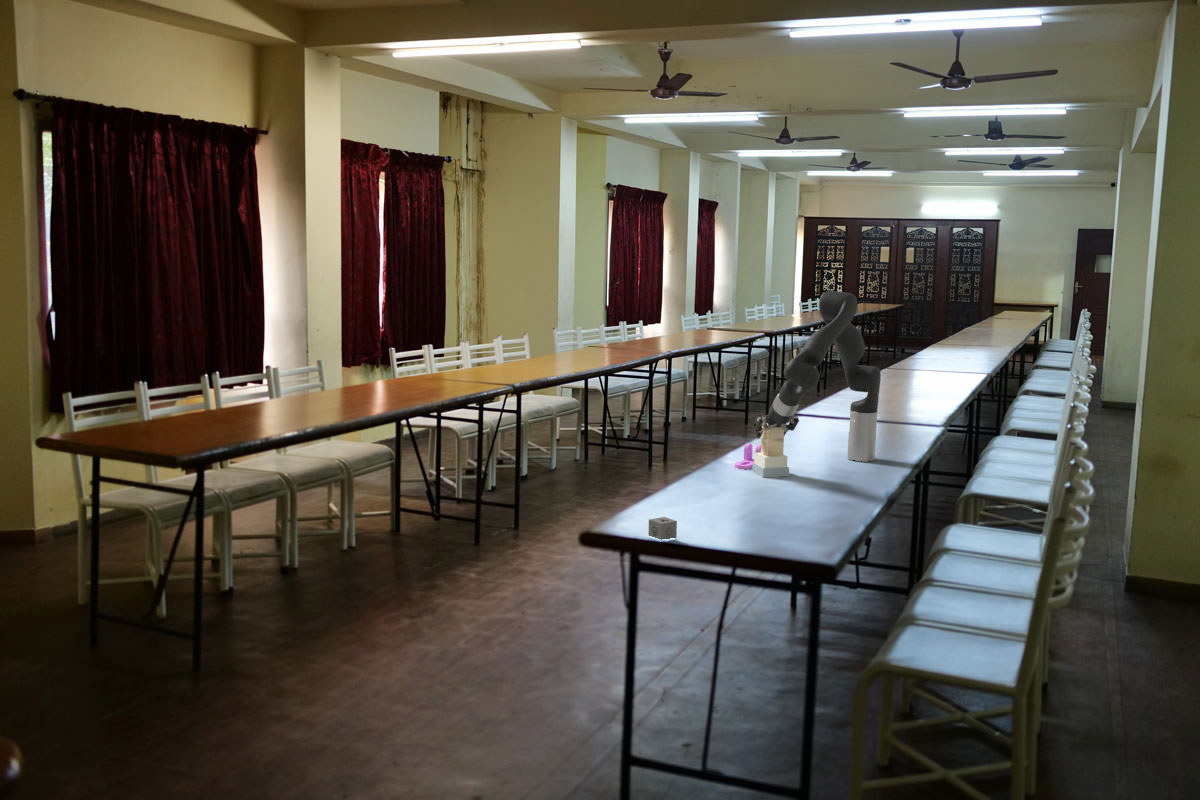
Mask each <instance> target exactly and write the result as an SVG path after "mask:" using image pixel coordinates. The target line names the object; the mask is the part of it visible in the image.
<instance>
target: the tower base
mask: <svg viewBox="0 0 1200 800" xmlns="http://www.w3.org/2000/svg"><path fill="white" fill-rule="evenodd" d="M751 470H752V471H753V472H752V471H751V472H752V473H755V474H756V475H757V476H760V477H762V478H781V477H780V476H788V477H789V476H790V467H789V466H787V467H779V468H763V467H761V466H759V465H757V464H755V463H753V468H752V469H751Z"/></svg>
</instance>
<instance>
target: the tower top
mask: <svg viewBox="0 0 1200 800" xmlns="http://www.w3.org/2000/svg"><path fill="white" fill-rule="evenodd" d="M753 456H754V457H753V459H754V463H755V464H757V465H759V466H761V467H763V468H779V467H788V456H787V455H784V454H783V456H768V457H767V456H765V455H763V454H761V453H755V452H754V455H753Z"/></svg>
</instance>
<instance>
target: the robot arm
mask: <svg viewBox="0 0 1200 800" xmlns="http://www.w3.org/2000/svg"><path fill="white" fill-rule="evenodd" d="M818 309H819V314H820V316H821V318H822V320H823V322H824V323H825V325H824V326H823V327H820V328H819V329H818V330H816V331H814V332H813V333H812V334H811V335H810V336H809V337H808V339H807V340H806V343H805V344H804V346H803V347H802V350H801V351H800V352H799V353H797V355H796V356H794V357H793V358H792V359H791V360H789V362H788V363H787V364H786V365H785V367H784V370H783V375H784V377H785V379H786V381H785V382H784V383H783V384H782V386H781V389H780V390H779V393H777V395H776V396H775V398H774V399H773V402H772V404H771V406H770V408H769V411H768V414H767V415H765V416H762V415H761V414H758V415H757V416H756V418H755V420H754V422H753V424H752V427H753V428H754V429H753V431H754V434H755V437H756V438H757V439H761V437H762V433H763V431H765V430H769V429H770V428H772V427H781V426H782V428H783V430H784V437H785V436H786V434H787V432H789V431H791V432H792V431H794V430H795V429H796V427H797V425H798V424H799V422H800V420H799V417H798V414H797V413H796V411H797V410H798V408H799V406H800V402H801V401H802V399H803V397H804V396H805V395H806V394H807V393H808V392H809V391H811V390H812V389H813V388H814V387H815V386H816V385H817V384H818V382H819V381H820V377H821V375H820V371H819V370H818V369H817V368H816V367H818V366H820V365H821V363H822V362H823V360H824V358H825V357H826V356H827V353H828V352H829V349H830V348H831V346H832V345H833V344H834V346H835V348H836V351H837V354H838V356H839V358H840V361H841V364H842V367H843V370H844V376H845V380H846V382H847V383H846V384H847V385H848V388H849V389H850V390H851V391H854V392H859V393H860V392H861V393H867V395H866V397H865V398H863V399H860V400H856V401H852V402H851V404H850V409H849V410H850V411H849V429H848V430H849V431H848V438H847V439H848V440H847V459H848V460H850V459H851V460H850V461H853V460H855V462H861V461H862V462H863V463H864V462H869V461H870V462H874V461H875V460H876V459H875V458H876V446H877V445H876V442H877V441H876V440H877V426H878V425H877V424H878V423H877V422H878V410H879V409H878V408H879V399H880V398H879V397H880V396H879V395H880V388H881V378H882V377H881V376H882V375H881V370H880V368H879V367H878V366H873V365H872V366H871V365H862V364H861V365H860V364H858V362H859V361H860V360H861V359H862V357H863V356H864V354H865V352H866V344H865V341H864V338H863V336H862V333H861V331H860V330H859V329H858V328H857V327H856V325H854V324H852V323H851V322H852V321H853V319H854V317H855V316H856V313H857V309H858V299H857V296H856V295H855V294H854V293H850V292H844V291H835V290H828V291H827V290H826V291H825V292H823V293H822V294H821V295H820V297H819V300H818ZM767 423H768V425H769V426H767ZM762 426H764V427H763V428H762Z"/></svg>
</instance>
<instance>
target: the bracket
mask: <svg viewBox="0 0 1200 800" xmlns="http://www.w3.org/2000/svg"><path fill="white" fill-rule="evenodd" d="M754 453H761V444H757V445H756V446H755V452H754ZM753 463H754V458H753V444H752V443H745V444H744V448H743V460H740V461H737V462H735V463H734V469H736V468H738V469H737V470H741V469H748V470H752V469H753ZM751 468H752V469H751Z"/></svg>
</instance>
